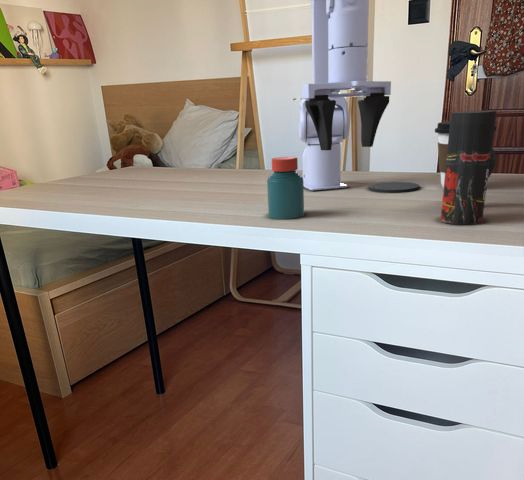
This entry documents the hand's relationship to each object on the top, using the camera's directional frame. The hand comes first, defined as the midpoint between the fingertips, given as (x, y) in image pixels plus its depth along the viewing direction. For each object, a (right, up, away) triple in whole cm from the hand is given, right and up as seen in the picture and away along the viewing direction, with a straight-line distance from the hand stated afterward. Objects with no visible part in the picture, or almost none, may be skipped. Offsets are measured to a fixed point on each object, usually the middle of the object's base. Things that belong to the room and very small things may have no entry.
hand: (346, 148), depth 83 cm
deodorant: (+17, -12, -3) cm, 21 cm away
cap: (-10, -1, +3) cm, 10 cm away
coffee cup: (+26, 0, +22) cm, 34 cm away
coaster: (+14, +1, +25) cm, 29 cm away
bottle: (-9, -9, +7) cm, 14 cm away
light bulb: (+22, -8, +5) cm, 24 cm away
